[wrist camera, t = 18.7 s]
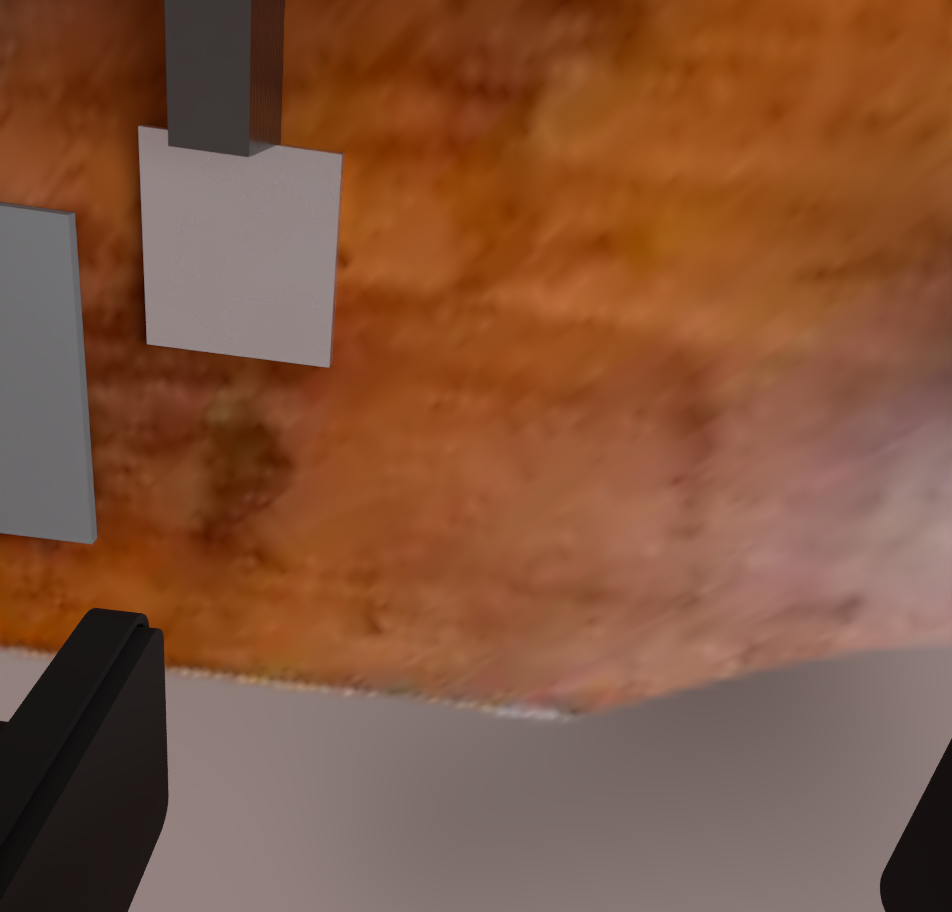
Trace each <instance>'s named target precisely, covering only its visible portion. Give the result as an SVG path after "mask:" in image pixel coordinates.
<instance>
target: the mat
mask: <svg viewBox="0 0 952 912" xmlns="http://www.w3.org/2000/svg"><path fill="white" fill-rule="evenodd" d="M0 533H5V534H13V535H22V536H30V537H38V538H46V539H54V540H63V541H71V542H79V543H87V544H93V542H94V541H95V540H96V539H97V526H96V512H95V497H94V483H93V468H92V454H91V439H90V425H89V410H88V396H87V381H86V367H85V352H84V338H83V323H82V309H81V294H80V280H79V265H78V251H77V236H76V222H75V213H74V212H67V211H60V210H53V209H45V208H38V207H31V206H24V205H17V204H10V203H3V202H0Z"/></svg>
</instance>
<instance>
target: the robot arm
mask: <svg viewBox="0 0 952 912" xmlns="http://www.w3.org/2000/svg"><path fill="white" fill-rule="evenodd" d="M166 732H167V731H166V699H165V666H164V638H163V632H162V630H161V629H157V628H149V623H148V619H147V617H146V615H144V614H142V613H134V612H125V611H117V610H108V609H100V608H93V609H91V610H89V611H88V612H87V613H86V614H85V616H84V617H83V618H82V620H81V621H80V623H79V624H78V625H77V627H76V628H75V630H74V631H73V632H72V634H71V635H70V637H69V638H68V639H67V641H66V642H65V644H64V645H63V646H62V648H61V649H60V651H59V652H58V653H57V655H56V656H55V657H54V659H53V660H52V662H51V663H50V665H49V666H48V667H47V669H46V670H45V671H44V673H43V674H42V676H41V677H40V679H39V680H38V681H37V683H36V684H35V686H34V687H33V688H32V690H31V691H30V692H29V694H28V695H27V697H26V698H25V700H24V701H23V702H22V704H21V705H20V706H19V708H18V709H17V711H16V712H15V714H14V715H13V716H12V718H11V719H10V720H9V722H4V721H0V912H128V910H129V907H130V904H131V902H132V900H133V897H134V895H135V893H136V890H137V888H138V886H139V883H140V881H141V878H142V876H143V874H144V871H145V869H146V867H147V864H148V862H149V859H150V857H151V855H152V852H153V850H154V847H155V845H156V843H157V840H158V838H159V835H160V833H161V830H162V828H163V824H164V821H165V816H166V812H167V806H168V765H167V733H166ZM880 894H881V900H882V904H883V907H884V909H885V912H952V739H951V741H950V743H949V745H948V747H947V749H946V751H945V753H944V755H943V757H942V759H941V760H940V763H939V764H938V766H937V768H936V770H935V772H934V774H933V776H932V778H931V780H930V782H929V784H928V786H927V788H926V790H925V792H924V793H923V795H922V797H921V799H920V801H919V803H918V805H917V807H916V809H915V811H914V813H913V815H912V817H911V819H910V821H909V823H908V825H907V826H906V828H905V830H904V832H903V834H902V836H901V838H900V840H899V842H898V844H897V846H896V848H895V850H894V852H893V854H892V856H891V858H890V860H889V861H888V863H887V865H886V867H885V869H884V871H883V874H882V877H881V881H880Z"/></svg>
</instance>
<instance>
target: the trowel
mask: <svg viewBox="0 0 952 912" xmlns="http://www.w3.org/2000/svg"><path fill="white" fill-rule="evenodd" d="M164 5H165V43H166V82H167V120H168V128H167V127H160V126H153V125H146V124H145V125H140V126H138V137H139V162H140V186H141V211H142V236H143V260H144V285H145V310H146V334H147V344H150V345H157V346H165V347H173V348H181V349H188V350H196V351H204V352H212V353H219V354H227V355H235V356H243V357H251V358H258V359H266V360H274V361H282V362H289V363H297V364H305V365H313V366H320V367H328V368H329V367H330V365H331V363H332V357H333V341H334V324H335V308H336V291H337V275H338V259H339V242H340V226H341V210H342V193H343V177H344V160H345V153H344V152H337V151H330V150H323V149H316V148H309V147H302V146H295V145H288V144H281V112H282V77H283V43H284V9H285V0H164Z"/></svg>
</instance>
